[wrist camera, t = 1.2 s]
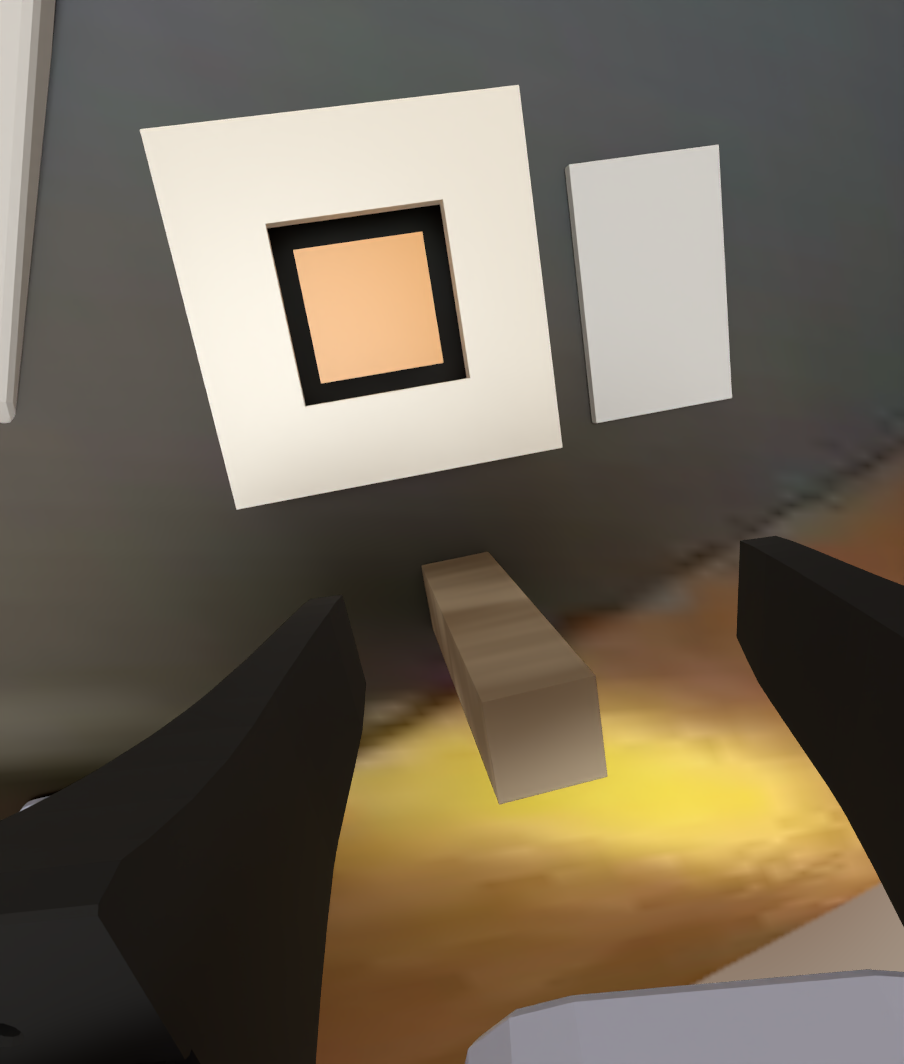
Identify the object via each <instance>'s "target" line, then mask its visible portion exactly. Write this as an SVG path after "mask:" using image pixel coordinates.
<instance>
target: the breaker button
mask: <svg viewBox="0 0 904 1064" xmlns="http://www.w3.org/2000/svg"><path fill="white" fill-rule="evenodd" d="M293 252H294V257H295V261H296V266H297V271H298V276H299V281H300V285H301V290H302V295H303V300H304V304H305V309H306V314H307V319H308V323H309V328H310V333H311V338H312V342H313V347H314V352H315V357H316V361H317V366H318V371H319V376H320V381H321V384H322V383H328V382H333V381H339V380H345V379H351V378H357V377H363V376H369V375H375V374H381V373H386V372H392V371H398V370H404V369H410V368H416V367H422V366H428V365H434V364H440V363H444V362H443V356H442V350H441V344H440V338H439V332H438V325H437V319H436V313H435V307H434V301H433V294H432V288H431V282H430V276H429V270H428V264H427V257H426V251H425V245H424V239H423V233H422V232H415V233H408V234H401V235H394V236H387V237H380V238H373V239H366V240H359V241H352V242H345V243H338V244H331V245H324V246H317V247H310V248H303V249H296V250H293Z"/></svg>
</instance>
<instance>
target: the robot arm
mask: <svg viewBox="0 0 904 1064" xmlns="http://www.w3.org/2000/svg"><path fill="white" fill-rule="evenodd" d="M737 639H738V641H739V643H740V645H741V647H742V649H743V652H744V654H745V656H746V658H747V660H748V662H749V664H750V666H751V668H752V670H753V672H754V674H755V676H756V678H757V680H758V682H759V684H760V686H761V687H762V689H763V690H764V692H765V693H766V695H767V697H768V698H769V700H770V701H771V703H772V704H773V706H774V707H775V709H776V710H777V712H778V713H779V715H780V716H781V718H782V719H783V721H784V722H785V723H786V725H787V726H788V728H789V729H790V731H791V732H792V734H793V735H794V737H795V738H796V740H797V741H798V743H799V744H800V746H801V747H802V749H803V750H804V751H805V753H806V754H807V756H808V757H809V759H810V760H811V762H812V763H813V765H814V766H815V768H816V769H817V771H818V772H819V774H820V775H821V777H822V778H823V779H824V781H825V782H826V784H827V785H828V787H829V788H830V790H831V792H832V793H833V795H834V796H835V798H836V800H837V801H838V803H839V805H840V806H841V808H842V809H843V811H844V813H845V815H846V816H847V818H848V820H849V822H850V824H851V826H852V828H853V829H854V831H855V833H856V835H857V837H858V839H859V841H860V843H861V844H862V846H863V848H864V850H865V852H866V854H867V856H868V858H869V859H870V861H871V863H872V865H873V867H874V869H875V871H876V873H877V875H878V877H879V879H880V881H881V883H882V885H883V887H884V889H885V890H886V893H887V895H888V897H889V899H890V900H891V902H892V904H893V906H894V908H895V910H896V912H897V914H898V916H899V918H900V920H901V922H902V924H903V926H904V586H903V585H900V584H898V583H895V582H893V581H890V580H887V579H885V578H882V577H880V576H877V575H875V574H872V573H870V572H867V571H865V570H862V569H860V568H857V567H855V566H853V565H850V564H848V563H845V562H843V561H840V560H838V559H836V558H833V557H831V556H828V555H826V554H824V553H821V552H819V551H816V550H814V549H811V548H809V547H806V546H804V545H801V544H798V543H796V542H793V541H790V540H787V539H784V538H781V537H777V536H772V537H765V538H758V539H750V540H743V541H740V560H739V587H738V613H737ZM365 689H366V682H365V678H364V674H363V670H362V667H361V663H360V659H359V655H358V652H357V648H356V644H355V640H354V637H353V633H352V629H351V626H350V622H349V618H348V614H347V611H346V607H345V603H344V599H343V596H342V595H336V596H329V597H321V598H314V599H310V600H308V601H307V602H306V603H305V604H304V605H302V606H301V607H300V608H299V609H298V610H297V611H296V612H295V613H294V614H293V615H292V616H291V617H290V618H289V619H288V620H287V621H286V622H285V623H284V624H283V625H282V626H281V627H280V628H278V629H277V630H276V631H275V632H274V633H273V634H272V635H271V636H270V637H269V638H268V639H267V640H266V641H265V642H264V643H263V644H262V645H261V646H260V647H259V648H258V649H257V650H256V651H255V652H254V653H253V654H252V655H250V656H249V657H248V658H247V659H246V660H245V661H244V662H243V663H242V664H241V665H239V666H238V667H237V668H236V669H235V670H234V671H233V672H231V673H230V674H229V675H228V676H227V677H226V678H225V679H223V680H222V681H221V682H220V683H219V684H218V685H217V686H216V687H214V688H213V689H212V690H211V691H210V692H209V693H207V694H206V695H205V696H204V697H203V698H201V699H200V700H199V701H198V702H196V703H195V704H194V705H192V706H191V707H190V708H189V709H187V710H186V711H185V712H183V713H182V714H181V715H179V716H178V717H177V718H175V719H174V720H172V721H171V722H170V723H168V724H167V725H166V726H164V727H163V728H161V729H160V730H159V731H157V732H156V733H154V734H153V735H151V736H150V737H148V738H147V739H145V740H144V741H142V742H141V743H139V744H137V745H136V746H134V747H133V748H131V749H129V750H128V751H126V752H125V753H123V754H122V755H120V756H118V757H117V758H115V759H114V760H112V761H110V762H109V763H107V764H106V765H104V766H103V767H101V768H99V769H98V770H96V771H94V772H93V773H91V774H89V775H87V776H86V777H84V778H82V779H80V780H78V781H77V782H75V783H73V784H71V785H69V786H68V787H66V788H64V789H62V790H60V791H59V792H57V793H55V794H53V795H51V796H47V797H43V798H39V799H34V800H31V801H29V802H27V803H26V804H25V805H24V806H23V807H22V809H21V810H20V812H18V813H16V814H14V815H12V816H10V817H8V818H5V819H3V820H1V821H0V1064H316V1051H317V1037H318V1024H319V1011H320V997H321V985H322V974H323V963H324V953H325V942H326V932H327V922H328V913H329V904H330V895H331V886H332V878H333V869H334V862H335V857H336V851H337V845H338V840H339V835H340V831H341V826H342V822H343V817H344V813H345V808H346V804H347V799H348V795H349V790H350V786H351V781H352V777H353V772H354V768H355V763H356V758H357V754H358V749H359V744H360V739H361V734H362V728H363V717H364V704H365ZM465 1064H904V972H897V971H881V970H867V969H866V970H855V971H843V972H832V973H820V974H809V975H798V976H787V977H775V978H764V979H754V980H741V981H731V982H719V983H708V984H696V985H685V986H674V987H662V988H651V989H640V990H628V991H617V992H606V993H595V994H583V995H572V996H568V997H564V998H560V999H556V1000H552V1001H548V1002H544V1003H540V1004H536V1005H532V1006H528V1007H524V1008H520V1009H516V1010H515V1011H513V1012H512V1013H511V1014H509V1015H508V1016H507V1017H505V1018H504V1019H503V1020H501V1021H500V1022H499V1023H497V1024H496V1025H495V1026H493V1027H492V1028H491V1029H489V1030H488V1031H487V1032H485V1033H484V1034H483V1035H481V1036H480V1037H479V1038H478V1039H477V1040H476V1041H475V1042H474V1043H473V1044H472V1045H471V1046H470V1047H469V1048H468V1053H467V1057H466V1062H465Z"/></svg>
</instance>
